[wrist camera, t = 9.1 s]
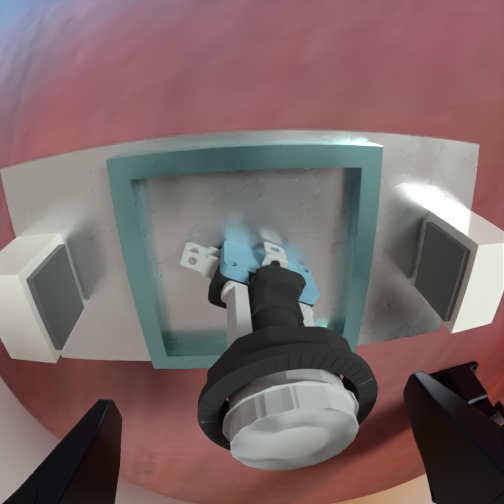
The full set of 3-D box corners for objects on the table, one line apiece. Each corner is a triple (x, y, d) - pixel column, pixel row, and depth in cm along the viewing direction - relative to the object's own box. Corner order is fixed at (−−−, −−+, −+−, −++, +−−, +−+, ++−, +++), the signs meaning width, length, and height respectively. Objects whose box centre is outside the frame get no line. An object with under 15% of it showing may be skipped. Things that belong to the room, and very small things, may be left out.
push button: (170, 285, 17) (133, 458, 8) (205, 192, 15) (174, 342, 6) (284, 321, 18) (323, 483, 9) (330, 241, 16) (425, 394, 7)
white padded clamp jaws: (452, 282, 18) (491, 322, 14) (42, 310, 17) (11, 358, 13) (469, 210, 16) (518, 241, 12) (16, 237, 15) (-28, 276, 11)
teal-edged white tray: (429, 318, 21) (446, 340, 19) (69, 343, 20) (56, 369, 18) (464, 139, 16) (492, 148, 13) (14, 163, 14) (-13, 175, 12)
